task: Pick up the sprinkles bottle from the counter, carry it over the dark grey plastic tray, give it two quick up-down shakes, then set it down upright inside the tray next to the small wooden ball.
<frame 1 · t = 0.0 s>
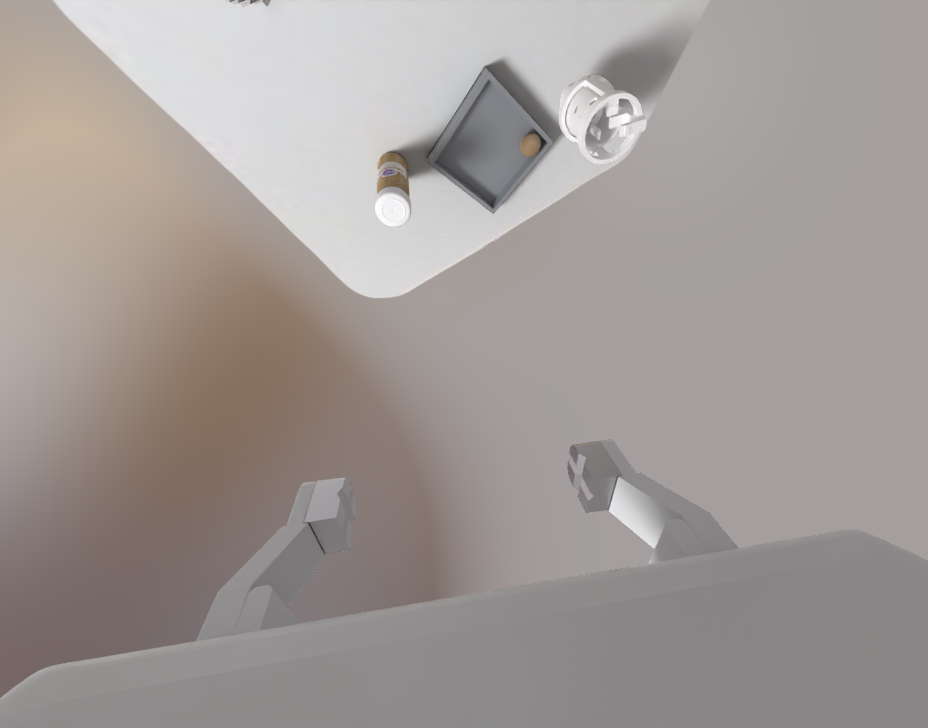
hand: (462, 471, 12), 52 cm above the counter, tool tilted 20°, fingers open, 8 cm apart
white hollow mechanical part: (570, 97, 48), on the counter
sprinkles bottle: (392, 167, 52), on the counter
tray: (488, 146, 51), on the counter
wooden ball: (530, 145, 50), point 2 cm above the counter, touching tray
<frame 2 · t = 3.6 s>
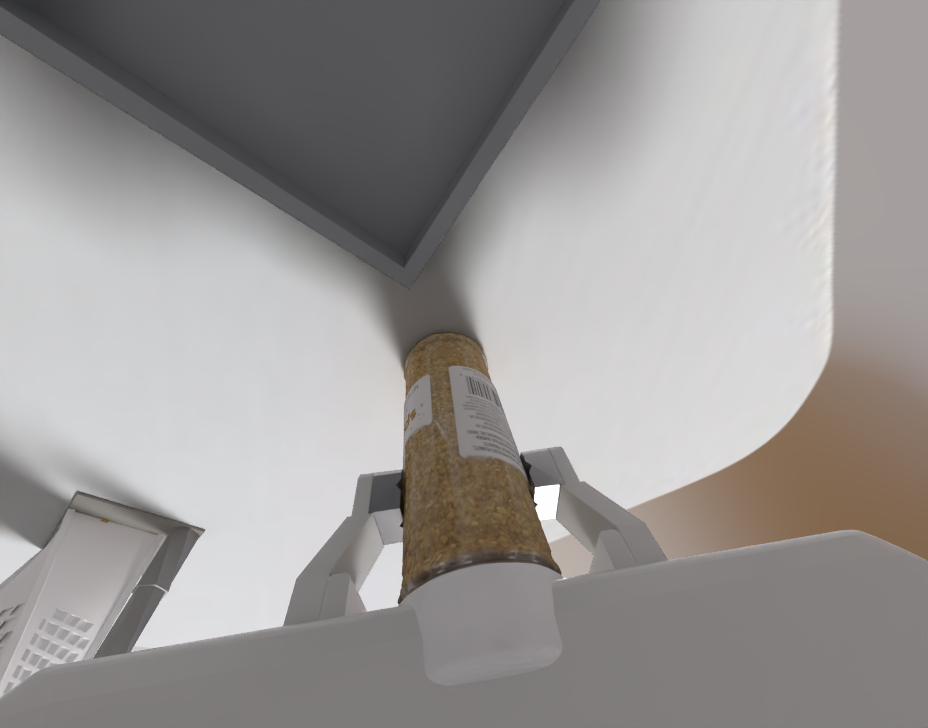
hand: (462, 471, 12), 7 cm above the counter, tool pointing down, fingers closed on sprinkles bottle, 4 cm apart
sprinkles bottle: (446, 365, 19), on the counter, touching gripper
skyscraper: (117, 535, 23), on the counter
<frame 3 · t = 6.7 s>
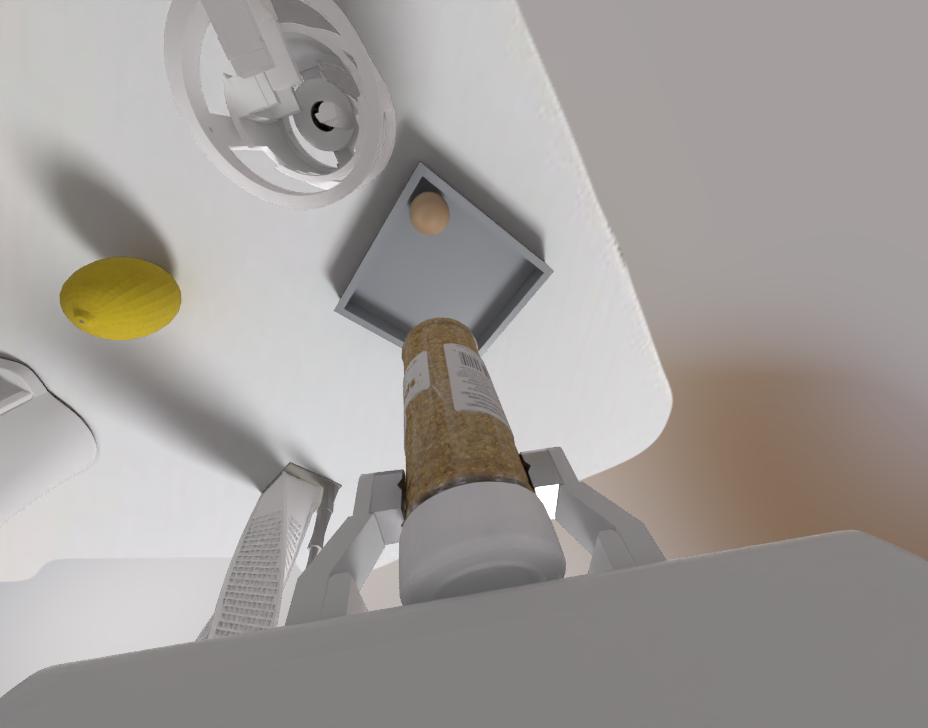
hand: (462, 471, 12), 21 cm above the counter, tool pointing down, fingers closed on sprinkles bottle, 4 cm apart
white hollow mechanical part: (350, 125, 24), on the counter
lemon: (165, 279, 28), on the counter
sprinkles bottle: (440, 348, 20), point 12 cm above the counter, touching gripper
skyscraper: (296, 487, 43), on the counter
tray: (442, 281, 30), on the counter
wooden ball: (429, 214, 25), point 2 cm above the counter, touching tray
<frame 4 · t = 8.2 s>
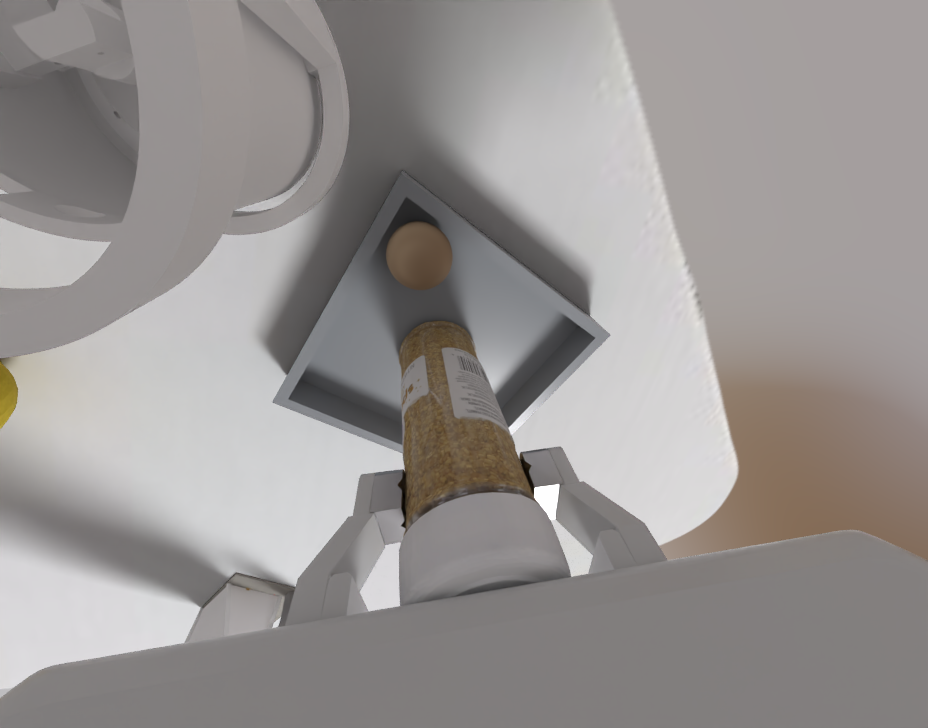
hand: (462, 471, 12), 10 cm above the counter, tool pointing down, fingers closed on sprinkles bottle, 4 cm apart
white hollow mechanical part: (281, 110, 14), on the counter
sprinkles bottle: (437, 352, 20), resting on tray, touching gripper
skyscraper: (248, 595, 33), on the counter
tray: (440, 346, 20), on the counter
wooden ball: (419, 256, 15), point 2 cm above the counter, touching tray
when the fingers open (9 cm above the counter, at t = 8.4 s): sprinkles bottle stays where it is, resting on tray.
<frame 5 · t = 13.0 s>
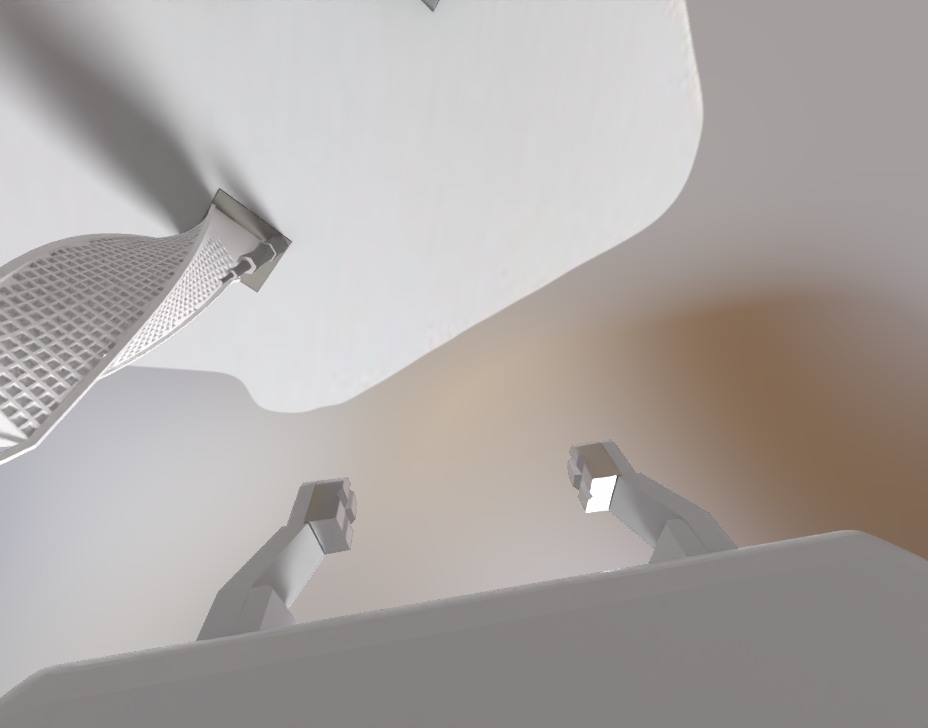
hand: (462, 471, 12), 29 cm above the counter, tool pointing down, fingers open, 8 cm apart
skyscraper: (233, 245, 34), on the counter
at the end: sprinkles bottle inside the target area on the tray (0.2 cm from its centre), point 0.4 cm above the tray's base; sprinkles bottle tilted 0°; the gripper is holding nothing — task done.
